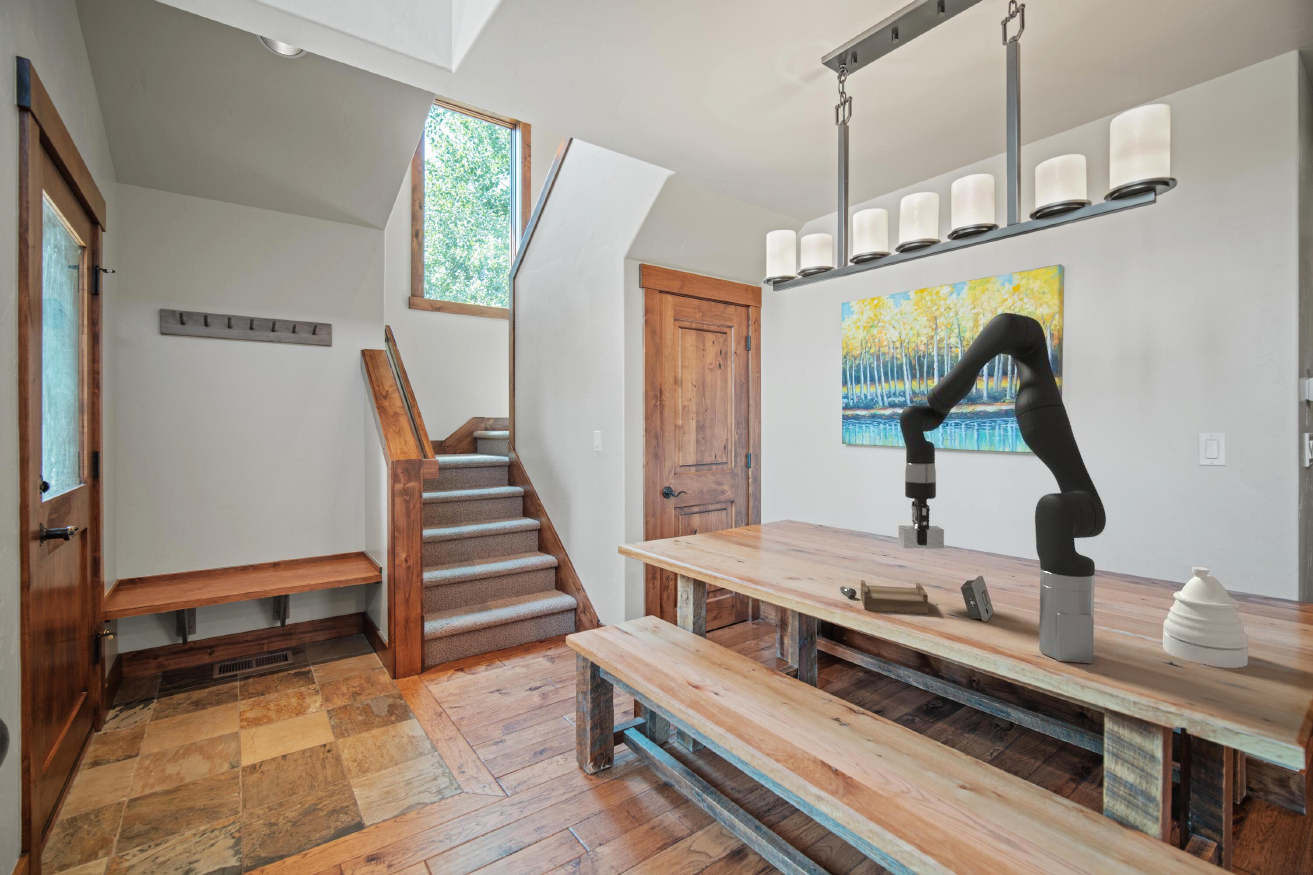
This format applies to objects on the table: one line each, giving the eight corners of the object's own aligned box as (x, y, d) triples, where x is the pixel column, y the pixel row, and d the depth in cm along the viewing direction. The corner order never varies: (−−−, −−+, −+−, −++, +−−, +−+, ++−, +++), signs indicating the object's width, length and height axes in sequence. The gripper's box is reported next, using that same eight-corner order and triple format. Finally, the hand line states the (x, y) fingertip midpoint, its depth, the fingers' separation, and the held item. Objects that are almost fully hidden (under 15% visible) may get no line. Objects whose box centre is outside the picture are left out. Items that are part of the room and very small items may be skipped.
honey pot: (1226, 672, 114) (1229, 578, 114) (1149, 648, 126) (1150, 563, 126) (1261, 660, 120) (1263, 571, 119) (1183, 639, 131) (1185, 557, 131)
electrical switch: (986, 623, 143) (982, 584, 143) (962, 620, 146) (959, 582, 146) (994, 613, 150) (990, 575, 150) (971, 611, 153) (967, 574, 153)
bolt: (856, 598, 163) (856, 588, 163) (847, 598, 163) (847, 588, 163) (847, 591, 169) (847, 582, 169) (838, 592, 169) (838, 582, 169)
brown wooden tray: (928, 613, 150) (928, 595, 149) (864, 609, 153) (864, 592, 153) (919, 599, 161) (919, 582, 161) (860, 595, 165) (860, 579, 165)
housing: (943, 548, 158) (943, 526, 158) (903, 547, 159) (903, 526, 159) (937, 544, 163) (937, 522, 163) (898, 543, 165) (898, 522, 165)
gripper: (940, 483, 153) (940, 548, 153) (931, 477, 167) (931, 538, 167) (908, 482, 155) (908, 547, 155) (902, 477, 169) (902, 537, 169)
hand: (920, 542), depth 161 cm, fingers closed on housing, 6 cm apart
